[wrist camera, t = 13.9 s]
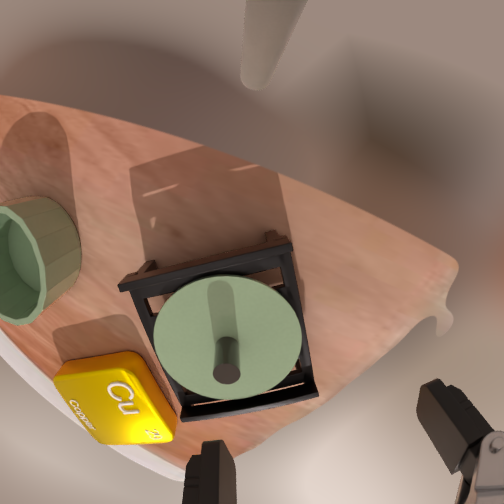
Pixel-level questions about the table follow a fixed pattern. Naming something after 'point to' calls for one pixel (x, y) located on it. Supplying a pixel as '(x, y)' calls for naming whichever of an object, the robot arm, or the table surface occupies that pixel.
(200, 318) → the lid
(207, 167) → the table surface
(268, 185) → the table surface
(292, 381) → the rack
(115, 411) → the element tile
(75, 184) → the table surface
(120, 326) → the table surface
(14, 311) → the pot
